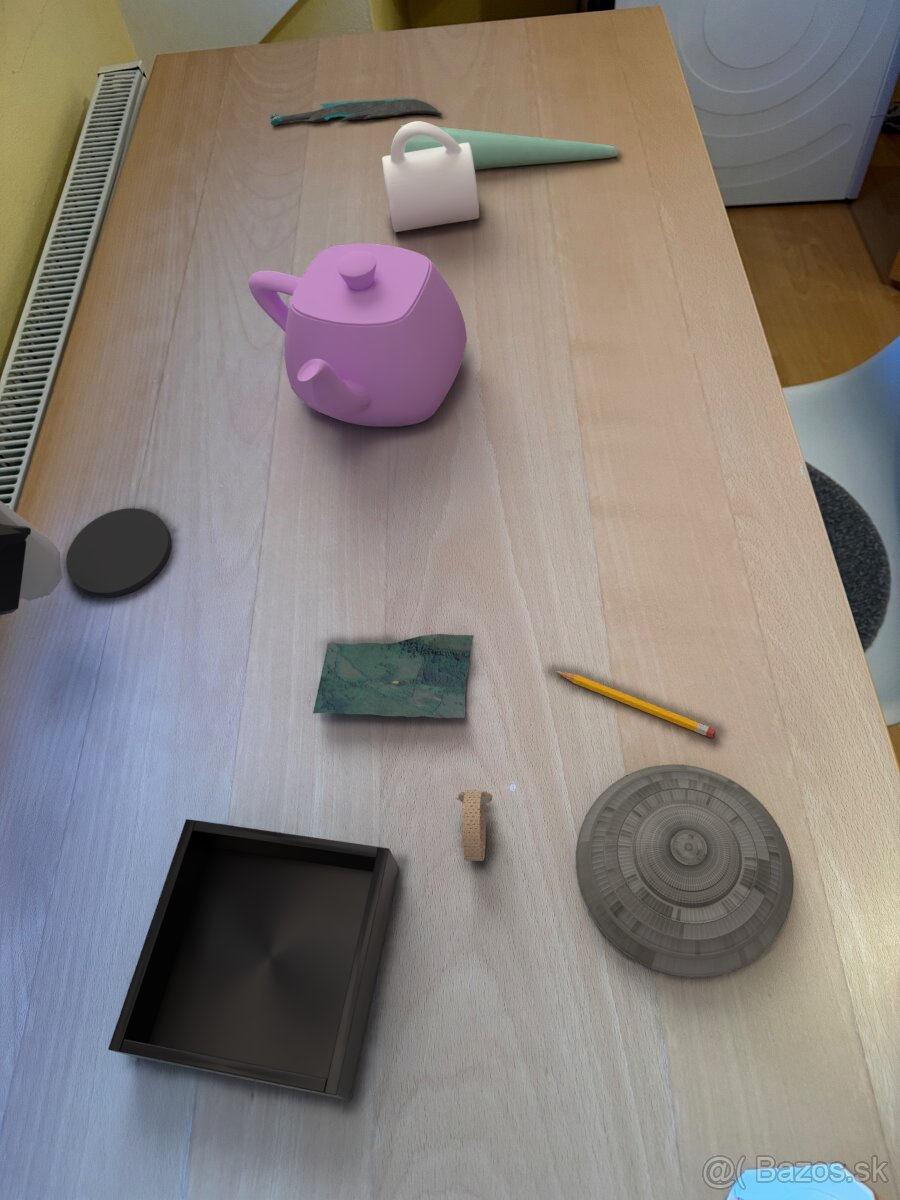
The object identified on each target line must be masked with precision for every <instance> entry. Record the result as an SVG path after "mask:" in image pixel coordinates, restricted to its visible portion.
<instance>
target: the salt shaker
mask: <svg viewBox="0 0 900 1200" xmlns="http://www.w3.org/2000/svg"><path fill="white" fill-rule="evenodd" d="M0 524H4V525H12V526H26V527H29V528H30V529H31V533H30V535H29V534H28V537H27V539H26V551H25V559H24V567H23V575H22V583H21V591H20V599H23V600H26V601H29V602H30V601H34V600H36V599H39V598H43V597H47V596H50V595H52V593H53V592H54V590H55V588H57V587H58V585H59V584H60V582H61V581H62V580H63V573H62V566H61V565H62V564H61V553H60V551H59V548H58V547H57V546H56V545H55V544H54V542H53V541H52V539H50V538H49V537H48V536H46V535H45V534H44V533H42V531H40V530H38V529H37V527H35V526H33V525H32V524H31V523H29V522H28V521H27V520H26V519H25V518H23V517H22V516H21V515H20V514H18V513H17V512H15V511H14V510H13V509H12V508H10V506H8V505H6V503H4V502H3V501H1V500H0Z"/></svg>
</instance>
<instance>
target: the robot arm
mask: <svg viewBox="0 0 900 1200" xmlns="http://www.w3.org/2000/svg"><path fill="white" fill-rule="evenodd" d="M30 533H31V529H30V528H29V527H26V526H12V525H4V524H0V616H5V615H9V614H13V613H14V612H16V611H17V610H18V609H19V606H20V600H21V598H20V591H21V583H22V575H23V567H24V559H25V551H26V539H27V537H28V534H29V535H30Z"/></svg>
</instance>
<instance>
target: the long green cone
mask: <svg viewBox="0 0 900 1200" xmlns="http://www.w3.org/2000/svg"><path fill="white" fill-rule="evenodd" d="M404 125H405V124H401V126H400V128H402V127H403V126H404ZM437 127H438V128H440V129H442V130H443V131H445V132H446V133H447V134H449V135H450V136H451V137H452V138H453V139H454V140H455V141H456V142H457V143H458V144H461V143H467V142H468V143H469V144H470V146H471V150H472V156H473V162H474V169H475V171H477V170H485V169H486V170H487V169H496V168H508V167H519V166H530V165H532V166H533V165H542V164H555V163H567V162H578V161H589V160H590V161H591V160H601V159H611V158H615V157H617V156H618V155H619V150H618V148H617V147H616V146H614V145H609V144H602V143H593V142H592V143H591V142H585V141H584V142H583V141H574V140H565V139H557V138H548V137H538V136H530V135H521V134H510V133H502V132H493V131H492V132H491V131H485V130H484V131H482V130H475V129H465V128H457V127H446V126H437ZM437 147H443V145H442V144H441V143H440V142H438V141H437V140H435V139H433V138H431V137H429V136H425V135H416V136H414V137H412V138H410V139H409V141H408V142H407V144H406V147H405V152H404V153H407V152H413V151H419V150H425V149H431V148H437Z"/></svg>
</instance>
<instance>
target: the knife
mask: <svg viewBox="0 0 900 1200" xmlns="http://www.w3.org/2000/svg"><path fill="white" fill-rule="evenodd" d="M319 105H320V106H322V108H321V109H317V110H313V111H308V112H299V113H294V114H288V115H287V114H286V115H283V114H278V113H274V114H275V116H279V115H280V116H281V117H280V118H277V119H274V120H273V118H274V117H275V116H273V114H271V115H270V117H269V119H270V120H271V122H270V123H271V124H272V125H273V126H274V127H277V126H278V125H280V124H283V123H288V122H295V121H305V122H319V123H320V122H325V121H329V120H330V119H333V118H338V117H343V118H341V120H340V122H343V121H351V120H369V119H374V118H386V117H387V118H388V117H393V116H395V117H396V116H402V115H408V114H409V115H410V114H423V115H424V114H425V115H426V114H427V115H428V114H429V115H430V114H431V115H439V116H440V115H443V113H442V112H441V111H439V110H438V109H437V108H436V107H434V106H432V105H431V104H430V103H427V102H425V101H422V100H420V99H416V98H390V99H388V98H387V99H372V100H371V99H370V100H367V99H366V100H353V101H351V100H349V101H340V102H339V101H338V102H326V103H320V104H319Z"/></svg>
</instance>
